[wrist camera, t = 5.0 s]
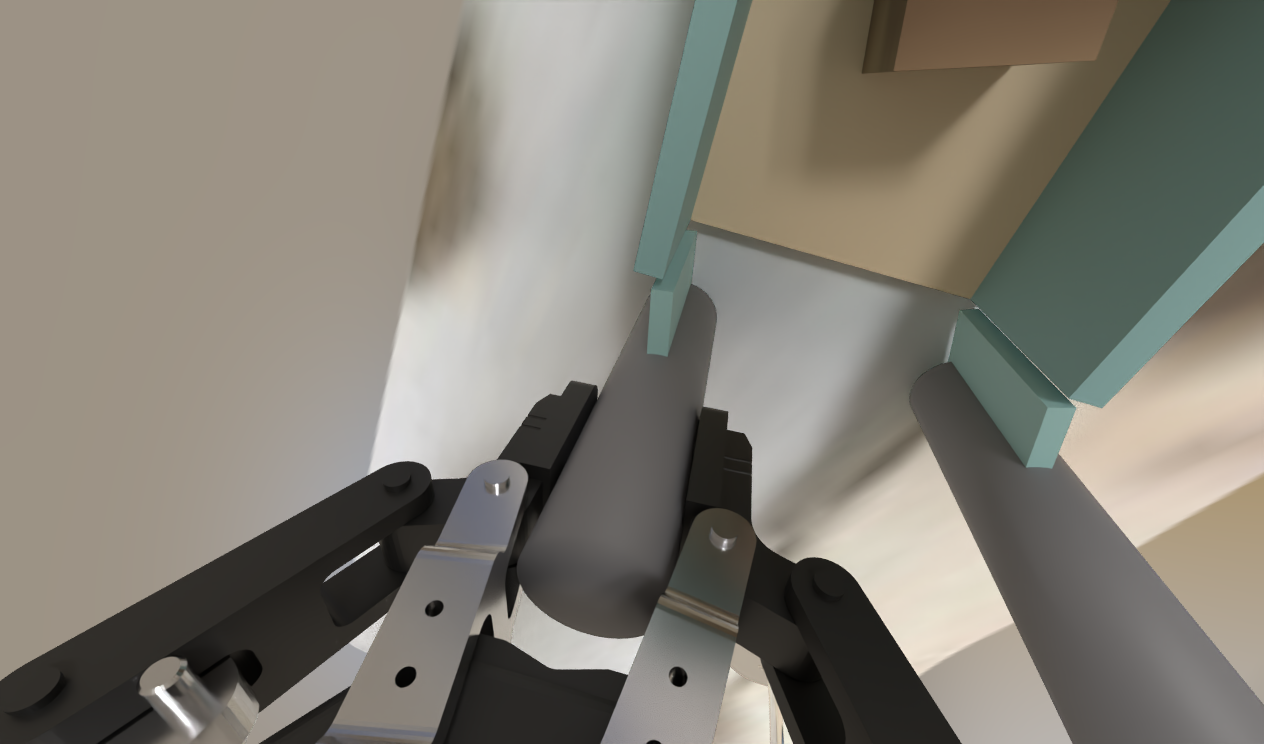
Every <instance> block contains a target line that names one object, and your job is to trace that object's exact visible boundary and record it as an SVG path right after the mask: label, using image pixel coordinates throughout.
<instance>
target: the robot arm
mask: <svg viewBox="0 0 1264 744" xmlns="http://www.w3.org/2000/svg"><path fill="white" fill-rule="evenodd" d="M597 395H598V389H597V386H596V385H591V384H586V383H581V382H576V381H571V382H570V383H569V384H568V386H567V387H566V389H565V391H564V392H563V394H562V395H561V396H557V395H552V394H549V395H548V396H546V397H545V398H543V399H542V400H540V401H538V402H537V403H536V404H535V405H534V407H533V408H532V410H531V411H530V413H529V414H528V417H526V418H525V420H524V421H523V423H522V425H521V426H520V427H519V429H518V430H517V431H516V433H515V434H514V436H513V437H512V439H511V440H510V442H509V443H508V445H507V446H506V447H505V449H504V450H503V452H502V453H501V455H500V456H499V458H498V459H497V460H493V461H489V462H486V463H484V464H481V465H480V466H478V467H476V468H475V469H474V470H473V471H472V472H471V473H470V474H469V476H468V477H467V478H460V479H434V480H432V478H431V474H430V471H429V470H428V468H427V467H426V466H424V465H422V464H420V463H417V462H409V461H405V462H397V463H393V464H390V465H387V466H385V467H383V468H381V469H379V470H377V471H375V472H373V473H371V474H370V475H368V476H366V477H365V478H362V479H361V480H359V481H357V482H355V483H353V484H352V485H350V486H348V487H346V488H344V489H342V490H341V491H339V492H337V493H335V494H333V495H332V496H330V497H328V498H326V499H324V500H322V501H321V502H319V503H317V504H315V505H313V506H312V507H310V508H308V509H306V510H304V511H303V512H301V513H299V514H297V515H296V516H293V517H292V518H290V519H288V520H286V521H285V522H283V523H281V524H279V525H277V526H275V527H273V528H272V529H270V530H268V531H266V532H264V533H263V534H261V535H259V536H257V537H255V538H254V539H252V540H250V541H248V542H246V543H244V544H243V545H241V546H239V547H237V548H235V549H234V550H232V551H230V552H228V553H226V554H225V555H223V556H221V557H219V558H217V559H215V560H214V561H212V562H210V563H208V564H206V565H204V566H203V567H201V568H199V569H197V570H195V571H194V572H192V573H190V574H188V575H186V576H185V577H183V578H181V579H179V580H177V581H175V582H174V583H172V584H170V585H168V586H166V587H165V588H163V589H161V590H159V591H157V592H156V593H154V594H152V595H150V596H148V597H147V598H145V599H143V600H141V601H139V602H137V603H136V604H134V605H132V606H130V607H128V608H126V609H125V610H123V611H121V612H120V613H117V614H116V615H114V616H112V617H110V618H108V619H106V620H105V621H103V622H101V623H99V624H97V625H96V626H94V627H92V628H90V629H88V630H86V631H85V632H83V633H81V634H79V635H77V636H76V637H74V638H72V639H70V640H68V641H67V642H65V643H63V644H61V645H59V646H57V647H56V648H54V649H52V650H50V651H48V652H47V653H45V654H43V655H41V656H39V657H37V658H36V659H34V660H32V661H30V662H28V663H27V664H25V665H23V666H22V667H20V668H18V669H17V670H15V671H14V672H12V673H11V674H9V675H8V676H7V677H5V678H4V679H2V680H1V681H0V744H246V742H247V736H248V735H249V733H250V731H251V730H252V728H253V726H254V724H255V721H256V719H257V716H258V713H259V712H261V711H262V710H263V709H265V708H266V707H267V706H268V705H270V704H271V703H272V702H274V700H276V699H277V698H279V697H280V696H281V695H283V694H284V693H285V692H286V691H288V690H289V689H290V688H291V687H293V686H294V685H295V684H297V683H298V682H299V681H300V680H302V679H303V678H304V677H306V676H307V675H308V674H309V673H311V672H312V671H313V670H315V669H316V668H317V667H318V666H319V665H321V664H322V663H323V662H325V661H326V660H327V659H328V658H330V657H331V656H332V655H334V654H335V653H336V652H337V651H339V650H340V649H341V648H343V647H344V646H345V645H347V644H348V643H349V642H350V641H352V640H353V639H354V638H356V637H357V636H358V635H359V634H361V633H362V632H363V631H364V630H366V629H367V628H368V627H370V626H371V625H372V624H373V623H375V622H376V621H377V620H379V619H380V618H381V617H382V616H384V615H385V614H386V613H387V615H386V617H385V619H384V621H383V623H382V625H381V627H380V629H379V631H378V633H377V635H376V637H375V639H374V641H373V643H372V645H371V647H370V649H369V651H368V653H367V655H366V657H365V659H364V661H363V663H362V665H361V667H360V669H359V671H358V673H357V675H356V677H355V680H354V681H353V683H352V685H351V686H350V687H348V688H347V689H345V690H343V691H342V692H340V693H339V694H337V695H336V696H334V697H332V698H331V699H329V700H327V701H326V702H324V703H323V704H321V705H320V706H318V707H316V708H315V709H313V710H312V711H310V712H308V713H307V714H305V715H304V716H302V717H301V718H299V719H298V720H296V721H294V722H292V723H291V724H289V725H288V726H286V727H285V728H283V729H281V730H280V731H278V732H277V733H275V734H274V735H272V736H270V737H269V738H267V739H266V740H264V741H262V742H261V743H259V744H712V743H713V739H714V734H715V730H716V726H717V721H718V717H719V713H720V708H721V704H722V700H723V695H724V691H725V687H726V682H727V678H728V673H729V669H730V665H731V660H732V656H733V652H734V647H735V643H737V644H739V645H740V646H742V647H743V648H745V649H747V650H748V651H750V652H751V653H753V654H754V655H756V656H758V657H759V658H760V660H761V664H762V667H763V669H764V672H765V674H766V677H767V679H768V682H769V684H770V687H771V689H772V692H773V694H774V697H775V699H776V702H777V704H778V707H779V709H780V712H781V714H782V717H783V719H784V722H785V724H786V727H787V729H788V732H789V735H790V737H791V740H792V742H793V744H962V743H961V742H960V740H959V739H958V737H957V736H956V734H955V733H954V731H953V730H952V728H951V726H950V725H949V723H948V722H947V720H946V719H945V717H944V716H943V714H942V713H941V711H940V709H939V708H938V706H937V705H936V703H935V702H934V700H933V699H932V697H931V695H930V694H929V692H928V691H927V689H926V688H925V686H924V685H923V683H922V681H921V680H920V678H919V677H918V675H917V674H916V672H915V671H914V669H913V668H912V666H911V664H910V663H909V661H908V660H907V658H906V657H905V655H904V654H903V652H902V651H901V649H900V647H899V646H898V644H897V643H896V641H895V640H894V638H893V637H892V635H891V633H890V632H889V630H888V629H887V627H886V626H885V624H884V623H883V621H882V620H881V618H880V616H879V615H878V613H877V612H876V610H875V609H874V607H873V606H872V604H871V602H870V601H869V599H868V598H867V596H866V595H865V593H864V592H863V590H862V589H861V587H860V585H859V584H858V582H857V581H856V580H855V578H854V577H853V576H852V575H851V574H850V573H849V572H848V571H846V570H845V569H844V568H842V567H841V566H839V565H838V564H836V563H834V562H832V561H829V560H827V559H823V558H816V557H813V558H806V559H803V560H801V561H799V562H798V563H796V564H795V563H793V562H791V561H789V560H787V559H786V558H784V557H782V556H780V555H778V554H776V553H775V552H773V551H772V550H770V549H769V548H767V547H766V546H765V545H764V544H763V543H762V542H761V541H760V539H759V538H758V537H757V535H756V534H755V532H754V529H753V527H752V522H751V493H752V476H751V474H752V446H751V445H750V443H749V441H748V439H747V437H746V435H745V434H744V433H740V432H735V431H730V430H727V422H728V411H723V410H718V409H713V408H708V407H703V406H702V410H701V415H700V420H699V425H698V431H697V437H696V443H695V449H694V455H693V460H692V466H691V472H690V478H689V484H688V490H687V496H686V502H685V507H684V513H683V519H682V539H681V545H680V551H679V557H678V562H677V564H676V567H675V569H674V572H673V574H672V577H671V579H670V582H669V584H668V587H667V589H666V591H665V593H662V594H661V596H660V598H659V600H658V603H657V605H656V607H655V610H654V612H653V615H652V617H651V620H650V622H649V625H648V627H647V630H646V632H645V635H644V637H643V640H642V642H641V645H640V647H639V650H638V652H637V655H636V657H635V660H634V662H633V665H632V667H631V670H630V672H629V675H626V674H622V673H619V672H615V671H612V670H608V669H583V670H557V669H551V668H549V667H547V666H545V665H543V664H542V663H540V662H539V661H537V660H536V659H534V658H533V657H531V656H529V655H528V654H526V653H525V652H523V651H522V650H520V649H519V648H517V647H515V646H514V645H512V644H511V638H512V631H513V626H514V622H515V618H516V614H517V611H518V607H519V603H520V599H521V595H522V591H523V589H522V587H521V585H520V582H519V580H518V576H517V562H518V559H519V557H520V554H521V552H522V550H523V548H524V546H525V544H526V542H527V540H528V538H529V536H530V534H531V532H532V530H533V528H534V526H535V524H536V522H537V520H538V518H539V516H540V514H541V512H542V510H543V508H544V506H545V504H546V502H547V500H548V498H549V496H550V494H551V492H552V490H553V488H554V486H555V484H556V482H557V480H558V478H559V476H560V474H561V472H562V470H563V468H564V466H565V464H566V462H567V460H568V458H569V456H570V454H571V452H572V450H573V448H574V446H575V444H576V442H577V440H578V438H579V436H580V434H581V432H582V430H583V428H584V426H585V424H586V422H587V420H588V418H589V416H590V414H591V412H592V410H593V408H594V406H595V404H596V402H597ZM377 542H379V544H380V545H379V546H378V547H376V548H375V549H373V550H372V551H370V552H369V553H367V554H366V555H364V556H363V557H361V558H360V559H358V560H357V561H355V562H354V563H352V564H351V565H350V566H348V567H346V568H345V569H344V570H342V571H340V572H339V573H338V574H336V575H334V576H333V577H332V578H330V579H329V580H327V581H326V582H324V581H325V579H326V578H327V577H328V576H329V575H330V574H331V573H332V572H334V571H335V570H336V569H338V568H340V567H341V566H343V565H344V564H346V563H347V562H349V561H350V560H352V559H353V558H355V557H356V556H358V555H359V554H361V553H362V552H364V551H365V550H367V549H368V548H370V547H371V546H373V545H374V544H376V543H377ZM323 582H324V583H323Z"/></svg>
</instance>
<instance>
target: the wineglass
mask: <svg viewBox="0 0 1264 744" xmlns="http://www.w3.org/2000/svg"><path fill="white" fill-rule="evenodd" d="M730 667H731V668H732V669H733V670H734V671H736V672H737V673H738V674H740V675H741V676H743V677H744V678H746V679H748V680H750V681H753V682H755V683H758V684H762V685H765V686H768V693H769V719H770V744H784V734H783V717H782V714H781V712H780V709H779V707H778V704H777V702H776V699H775V697H774V694H773V692H772V689H771V687H770V684H769V682H768V679H767V677H766V674H765V672H764V669H763V667H762V664H761V660H760V658H759V657H758V656H756V655H754V654H753V653H751V652H750V651H748V650H747V649H745V648H743V647H742V646H740V645H739V644H737V643H735V647H734V652H733V656H732V660H731V665H730Z"/></svg>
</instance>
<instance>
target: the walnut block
mask: <svg viewBox="0 0 1264 744" xmlns="http://www.w3.org/2000/svg"><path fill="white" fill-rule="evenodd" d="M1118 1H1119V0H874V4H873V10H872V16H871V21H870V27H869V33H868V39H867V45H866V50H865V56H864V62H863V68H862V74H866V73H885V72H904V71H924V70H943V69H962V68H981V67H1000V66H1018V65H1034V64H1049V63H1065V62H1081V61H1096V58H1097V56H1098V53H1099V50H1100V48H1101V45H1102V43H1103V40H1104V37H1105V35H1106V32H1107V29H1108V27H1109V24H1110V22H1111V19H1112V16H1113V14H1114V11H1115V8H1116V6H1117V3H1118Z"/></svg>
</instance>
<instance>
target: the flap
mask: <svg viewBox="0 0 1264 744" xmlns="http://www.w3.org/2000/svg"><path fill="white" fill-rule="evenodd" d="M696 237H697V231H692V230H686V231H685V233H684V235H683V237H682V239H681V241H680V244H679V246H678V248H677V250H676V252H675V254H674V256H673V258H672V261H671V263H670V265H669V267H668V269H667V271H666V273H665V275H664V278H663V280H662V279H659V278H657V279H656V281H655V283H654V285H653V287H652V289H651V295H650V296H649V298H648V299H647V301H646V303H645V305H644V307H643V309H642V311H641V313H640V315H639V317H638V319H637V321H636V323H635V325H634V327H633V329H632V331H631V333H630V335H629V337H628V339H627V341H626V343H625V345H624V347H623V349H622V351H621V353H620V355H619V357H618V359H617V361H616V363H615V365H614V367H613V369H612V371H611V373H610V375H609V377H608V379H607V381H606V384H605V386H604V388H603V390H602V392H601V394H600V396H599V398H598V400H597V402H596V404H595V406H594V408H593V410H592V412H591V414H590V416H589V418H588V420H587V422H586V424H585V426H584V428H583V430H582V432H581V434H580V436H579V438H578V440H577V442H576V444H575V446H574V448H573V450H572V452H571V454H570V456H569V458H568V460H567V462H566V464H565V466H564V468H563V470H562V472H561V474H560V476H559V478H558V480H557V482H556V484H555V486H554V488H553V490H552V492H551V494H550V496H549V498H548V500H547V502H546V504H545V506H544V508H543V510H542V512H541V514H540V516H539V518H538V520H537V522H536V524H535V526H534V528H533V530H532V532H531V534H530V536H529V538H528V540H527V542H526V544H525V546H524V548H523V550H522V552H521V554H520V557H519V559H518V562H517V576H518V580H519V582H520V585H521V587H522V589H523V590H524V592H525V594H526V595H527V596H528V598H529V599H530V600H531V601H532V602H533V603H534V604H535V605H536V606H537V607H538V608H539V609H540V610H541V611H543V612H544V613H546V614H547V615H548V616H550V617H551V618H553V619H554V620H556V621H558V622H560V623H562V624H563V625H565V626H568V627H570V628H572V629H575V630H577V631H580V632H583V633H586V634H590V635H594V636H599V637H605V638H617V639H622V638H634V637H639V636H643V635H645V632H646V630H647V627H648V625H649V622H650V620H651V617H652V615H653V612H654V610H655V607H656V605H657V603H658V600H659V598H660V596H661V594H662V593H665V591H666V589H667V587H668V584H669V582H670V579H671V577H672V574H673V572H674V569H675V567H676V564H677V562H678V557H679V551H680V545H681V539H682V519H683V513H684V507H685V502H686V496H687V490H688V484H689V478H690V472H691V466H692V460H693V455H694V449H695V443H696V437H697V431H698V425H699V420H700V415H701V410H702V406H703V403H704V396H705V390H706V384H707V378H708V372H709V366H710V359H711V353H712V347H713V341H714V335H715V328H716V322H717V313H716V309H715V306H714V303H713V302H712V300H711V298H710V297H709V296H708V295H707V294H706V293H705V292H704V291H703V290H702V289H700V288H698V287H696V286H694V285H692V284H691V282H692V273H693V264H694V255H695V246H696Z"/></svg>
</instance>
